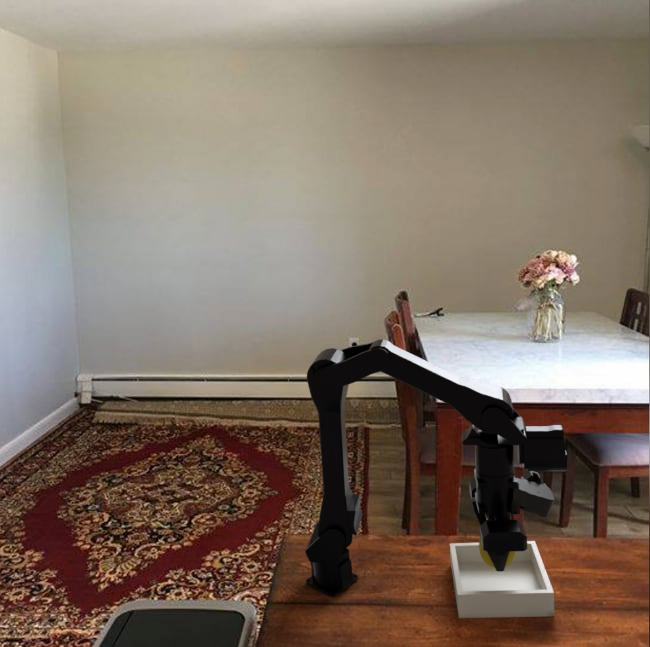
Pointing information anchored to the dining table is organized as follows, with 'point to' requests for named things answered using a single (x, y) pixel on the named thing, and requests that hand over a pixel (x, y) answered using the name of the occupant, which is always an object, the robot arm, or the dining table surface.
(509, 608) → the box
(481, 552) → the lemon
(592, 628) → the dining table surface
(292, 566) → the dining table surface
